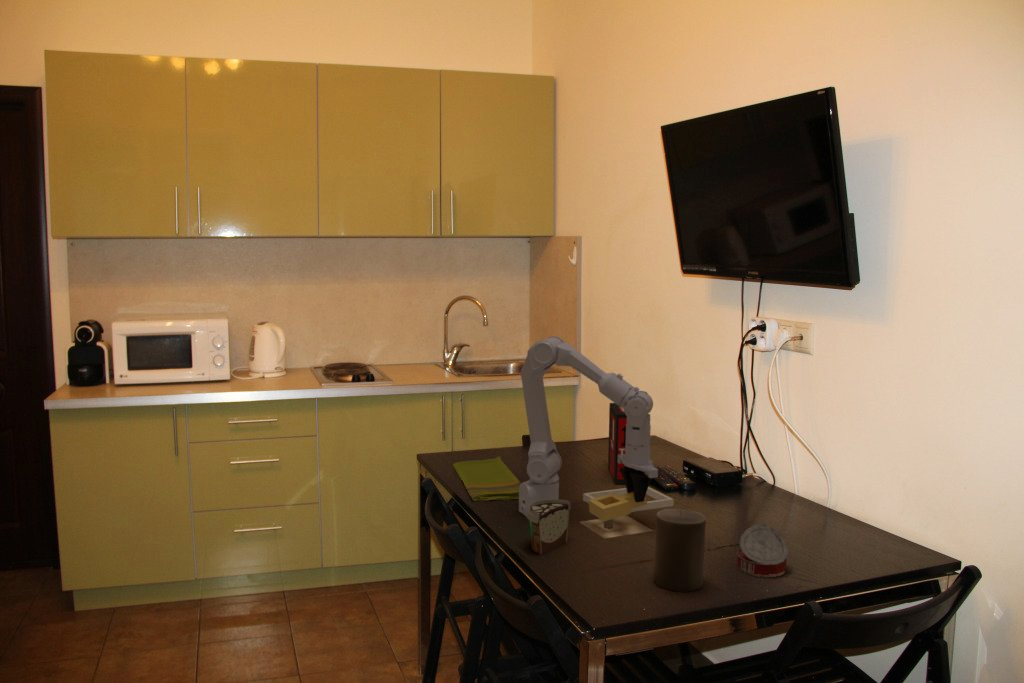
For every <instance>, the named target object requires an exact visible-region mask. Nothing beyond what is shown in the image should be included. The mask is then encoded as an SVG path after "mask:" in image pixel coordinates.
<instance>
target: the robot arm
mask: <svg viewBox="0 0 1024 683" xmlns="http://www.w3.org/2000/svg"><path fill="white" fill-rule="evenodd" d="M526 353H527V355H526V358H525V360H524V362H523V365H522V367H521V370H520V379H521V385H522V391H523V398H524V404H525V405H524V406H525V412H526V418H527V426H528V433H529V438H530V439H529V440H530V445H529V450H528V453H527V455H528V462H527V466H526V472H527V475H528V477H529V479H528V480H526V481H524V482H520V483H521V484H520V487H519V500H518V512H519V513H521V514H522V515H524V516H525V517H526V518H527V516H526V515H527V511H528V508H529V506H530V504H532V503H534V502H536V501H540V500H547V499H559V498H560V496H559V490H560V489H559V488H560V477H559V474H558V472H559V471H560V469H561V467H562V466H563V465H562V464H563V461H562V457H561V455H560V453H559V452H558V450H557V445H556V442H555V441H554V440H553V438H552V433H551V432H552V431H551V426H550V417H549V412H548V405H547V397H546V391H545V390H546V389H545V383H544V375H546V374H547V372H548V371H549V370H550V368H551V367H552V366H553V365H555V366H556V367H558V366H559V367H571V368H573V369H574V370H575V371H576V372H578V373H580V374H582V375H583V376H584V377H586V378H588V379H589V380H590V381H592V382H594V383H595V384H597V386H598V391H599V393H600V394H602V395H603V396H604V397H605V398H607V399H608V400H610V401H611V402H612V403H615V404H617V405H618V406H619V407H621V408H624V412H625V414H626V416H627V424H626V446H625V454H622V455H618V463H623V464H624V465H625V468H621V469H620V472H621V474H622V476H623V479H624V481H625V485H624V486H625V488H626V489H627V493H630V492H634V498H635V502H643V501H644V499H645V495H646V496H647V494H646V492H647V489H648V487H650V484H651V482H652V481H653V479H656V478H659V477H658V476H659V469H658V468H657V467H655V466H654V461H653V460H651V458H650V457H651V456H650V455H651V454H650V453H651V452H650V451H651V450H650V449H651V428H652V427H651V426H652V425H651V414H650V413H651V412H652V410H653V407H654V400H653V398H652V396H651V395H650V394H649V393H648V392H647V391H645V390H640V388H639V387H638V386H633V385H632V384H630V383H629V382H628V381H626V380H625V379H624V378H623V377H624V375H622V374H621V373H615V372H610V373H609V372H608V373H607V372H605V371H604V370H603V369H602V368H601V367H599V366H598V365H596V364H595V363H594V362H593V361H591V360H590V359H589V358H588V357H586V356H585V355H584V354H582V353H581V352H580V351H579V350H578V349H576V348H575V347H574V346H573V345H572V344H571V343H569V342H567V341H564V340H563V339H562V338H561V337H559V336H554V335H552V336H548V337H547V338H544V339H539V340H538V341H535V342H534V343H533V345H531V347H530V348H528V350H527V352H526ZM559 500H560V499H559Z"/></svg>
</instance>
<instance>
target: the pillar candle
mask: <svg viewBox="0 0 1024 683" xmlns="http://www.w3.org/2000/svg"><path fill="white" fill-rule="evenodd" d="M706 522H707V518H706V516H705V515H704V514H703V513H700V512H698V511H695V510H690V509H684V508H683V509H682V508H681V509H680V508H665V509H663V510H660V511H658V512H657V513H656V525H655V527H656V528H655V543H654V544H655V548H654V566H653V580H654V583H655V584H656V585H657V586H659V587H661V588H662V589H666V590H669V591H675V592H682V593H687V592H693V591H697V590H699V589H701V588H702V587H703V585H704V568H705V567H704V564H705V548H706V547H705V546H706V545H705V544H706V524H707V523H706Z"/></svg>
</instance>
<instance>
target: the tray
mask: <svg viewBox="0 0 1024 683" xmlns="http://www.w3.org/2000/svg"><path fill="white" fill-rule="evenodd" d="M612 493H615V494H617V495H618V496H620V495H623V494H627V489H626V487H624V488H622V487H621V488H617V489H609V490H600V491H591V492H585V493H583V494H582V498H583V499H582V501H583V502H586V503H587V504H589V502H588V500H591V499H594V498H598V497H601V496H605V495H608V494H612ZM646 496H649V497H651V498H653V499H655V500H647V504H646V505H643V506H640V507H636V508H633V509H630V513H634V512H640V511H641V512H642V511H649V510H655V509H661V508H669V507H674V504H675V503H674V502H675V499H674V498H672V497H671V496H668V495H665V494H664V493H662V492H660V491H658V490H656V489H654V488H652V487H650V486H648V489H647V492H646Z"/></svg>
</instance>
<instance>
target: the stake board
mask: <svg viewBox="0 0 1024 683" xmlns="http://www.w3.org/2000/svg"><path fill="white" fill-rule="evenodd" d="M579 523H580V524H581V525H583V526H585V527H586V528H587V529H589V530H591V531H592V532H593V533H595V534H596V535H599V536H600V537H601V538H603V539H605V540H606V539H611V538H617V537H623V536H630V535H636V534H642V533H649V532H654V530H652V529H651V528H649V527H647V526H646V525H645V524H642V523H640V522H639V521H638V520H635V519H634V518H632V517H630V516H629V515H624V516H621V517H618V518H614V519H611V520H607V521H603V520H601V519H600V518H597V519H589V520H582V521H579Z"/></svg>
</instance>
